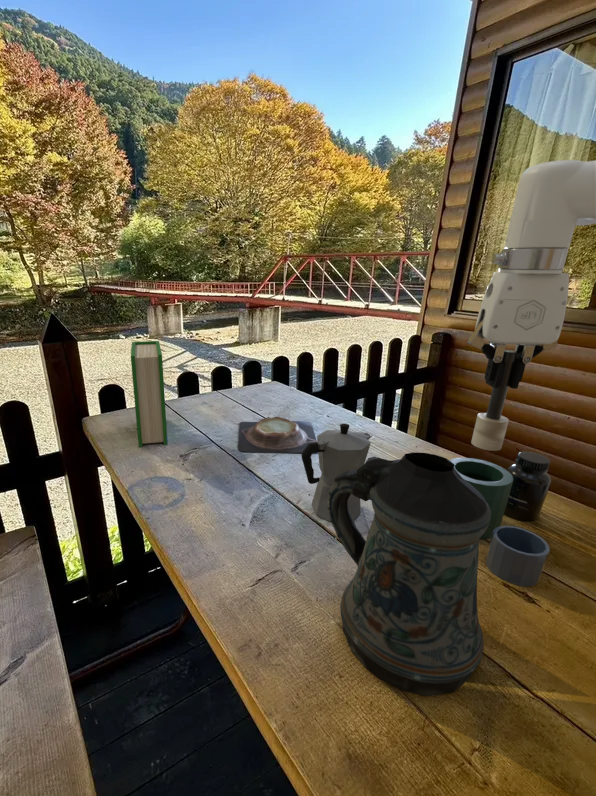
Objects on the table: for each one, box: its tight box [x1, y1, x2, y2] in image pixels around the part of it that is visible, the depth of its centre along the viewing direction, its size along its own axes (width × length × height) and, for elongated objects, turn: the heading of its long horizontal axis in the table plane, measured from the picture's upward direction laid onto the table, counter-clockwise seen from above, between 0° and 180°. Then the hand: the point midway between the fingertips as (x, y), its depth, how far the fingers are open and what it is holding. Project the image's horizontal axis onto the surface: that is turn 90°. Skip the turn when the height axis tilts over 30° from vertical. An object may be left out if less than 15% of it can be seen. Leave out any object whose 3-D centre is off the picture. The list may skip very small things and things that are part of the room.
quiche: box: [237, 416, 317, 454], centre depth 111 cm, size 21×20×4 cm
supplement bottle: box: [503, 451, 552, 523], centre depth 76 cm, size 7×7×12 cm
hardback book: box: [130, 340, 168, 448], centre depth 110 cm, size 18×7×24 cm, turn 11°
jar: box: [448, 457, 513, 540], centre depth 73 cm, size 10×10×11 cm
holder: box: [485, 525, 551, 587], centre depth 63 cm, size 7×7×6 cm
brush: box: [470, 349, 517, 452], centre depth 66 cm, size 4×4×16 cm
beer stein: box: [328, 452, 491, 697], centre depth 49 cm, size 16×19×25 cm
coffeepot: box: [301, 423, 373, 523], centre depth 76 cm, size 15×9×18 cm, turn 115°
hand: (501, 385), depth 65 cm, fingers closed on brush, 2 cm apart
